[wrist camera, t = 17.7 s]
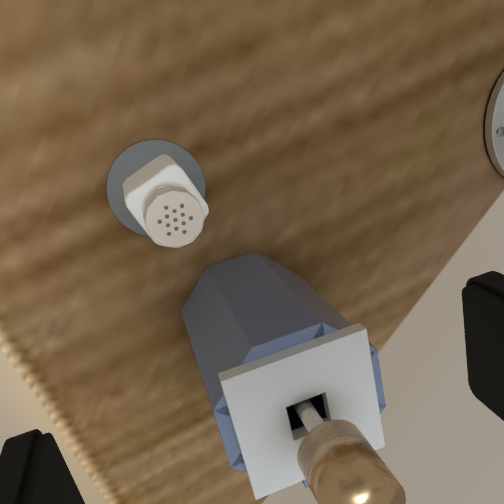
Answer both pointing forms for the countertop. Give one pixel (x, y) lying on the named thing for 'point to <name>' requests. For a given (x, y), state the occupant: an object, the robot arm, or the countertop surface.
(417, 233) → the countertop surface
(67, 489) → the robot arm
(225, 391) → the press pot
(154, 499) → the countertop surface
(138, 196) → the pepper shaker
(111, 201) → the grey round dome
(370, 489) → the plunger
